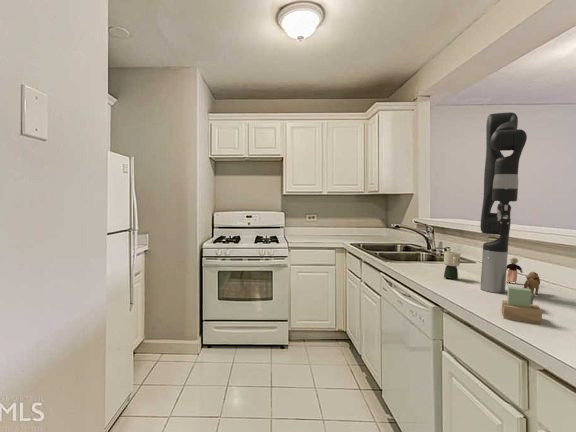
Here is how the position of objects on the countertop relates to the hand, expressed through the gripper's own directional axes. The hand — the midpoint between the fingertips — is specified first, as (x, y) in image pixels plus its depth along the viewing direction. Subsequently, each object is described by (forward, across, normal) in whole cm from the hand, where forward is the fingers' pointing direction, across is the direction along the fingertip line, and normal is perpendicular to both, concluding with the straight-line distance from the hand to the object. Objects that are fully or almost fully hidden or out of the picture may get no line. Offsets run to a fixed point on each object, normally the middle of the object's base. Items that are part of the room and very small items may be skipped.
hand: (502, 233), depth 123 cm
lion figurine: (+28, -30, +14) cm, 43 cm away
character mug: (+28, -43, -16) cm, 54 cm away
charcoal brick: (+27, -5, +9) cm, 29 cm away
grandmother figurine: (+28, -51, +10) cm, 59 cm away
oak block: (+26, +10, +6) cm, 29 cm away
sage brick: (+22, +10, +5) cm, 25 cm away
